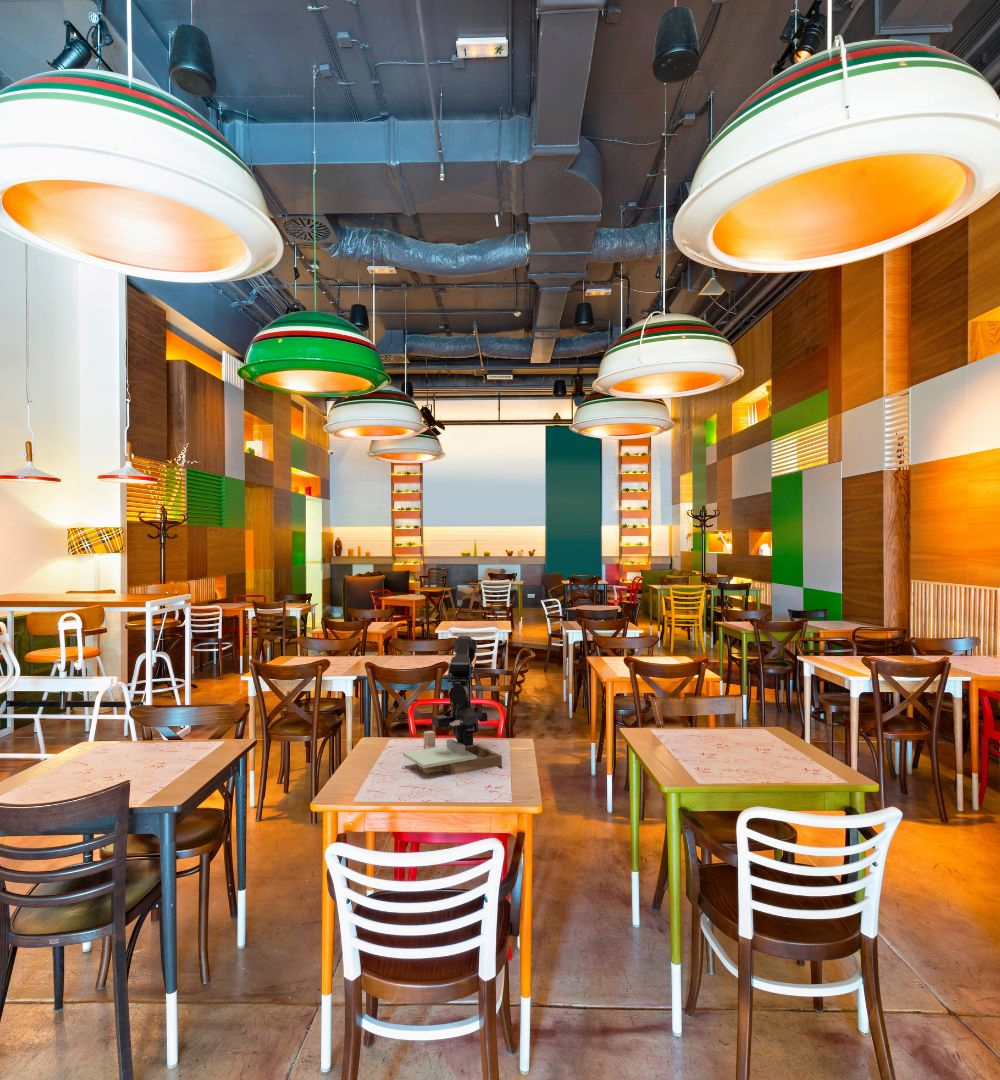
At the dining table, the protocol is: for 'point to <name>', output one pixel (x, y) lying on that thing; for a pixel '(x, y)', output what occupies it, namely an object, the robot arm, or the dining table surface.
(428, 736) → the brown wooden block
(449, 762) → the lid
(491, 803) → the dining table surface
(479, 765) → the wooden box tray
